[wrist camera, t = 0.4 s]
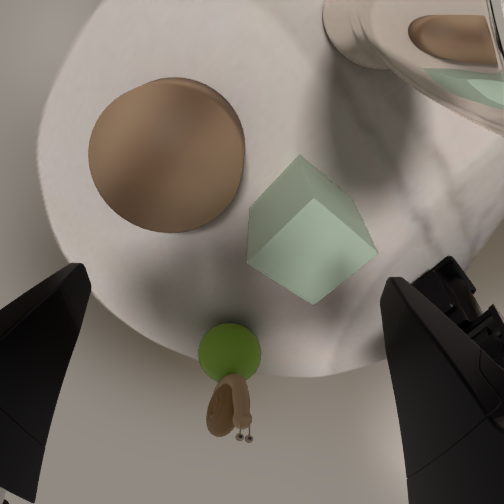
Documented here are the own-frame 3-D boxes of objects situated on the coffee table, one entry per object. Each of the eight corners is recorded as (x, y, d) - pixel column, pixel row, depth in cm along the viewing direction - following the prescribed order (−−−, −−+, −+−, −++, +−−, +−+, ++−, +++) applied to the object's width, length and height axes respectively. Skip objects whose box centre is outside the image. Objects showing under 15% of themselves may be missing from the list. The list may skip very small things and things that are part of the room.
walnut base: (275, 134, 19) (277, 150, 16) (192, 231, 23) (184, 256, 21) (154, 50, 15) (136, 52, 13) (88, 163, 20) (68, 182, 17)
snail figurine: (278, 317, 28) (282, 446, 19) (244, 353, 32) (238, 466, 22) (222, 294, 27) (206, 431, 17) (193, 335, 30) (174, 453, 21)
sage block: (352, 200, 21) (378, 253, 16) (303, 245, 24) (313, 305, 19) (299, 153, 19) (313, 197, 15) (249, 207, 22) (246, 263, 17)
